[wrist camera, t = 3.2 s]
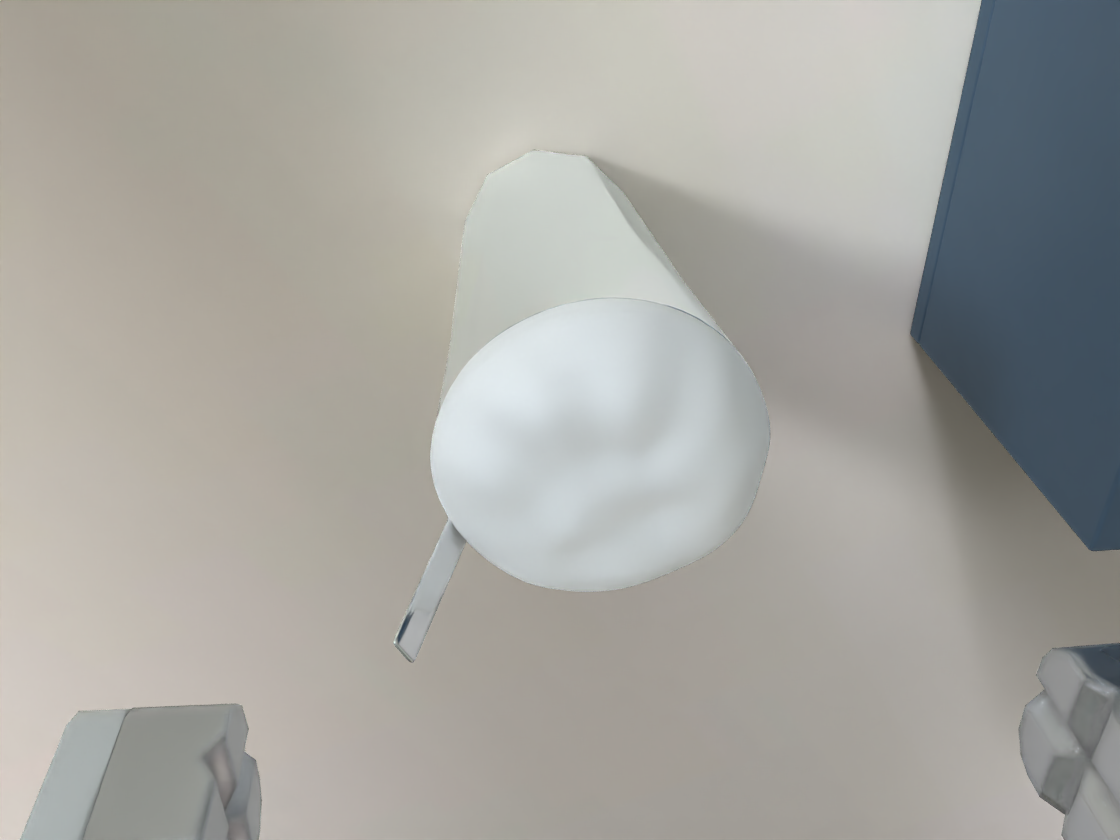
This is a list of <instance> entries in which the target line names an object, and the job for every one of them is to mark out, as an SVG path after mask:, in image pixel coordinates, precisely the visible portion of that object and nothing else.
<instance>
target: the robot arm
mask: <svg viewBox="0 0 1120 840" xmlns="http://www.w3.org/2000/svg"><path fill="white" fill-rule="evenodd" d="M1036 676H1037V677H1038V679H1039V680H1040V682H1041V684H1042V685H1043V687H1044V688H1045V689H1044V690H1043V691H1042V692H1041V693H1040V694H1039V695H1037V696H1036V697H1035V698H1034V699H1033V700H1031V701H1030V702H1029V703H1028V704H1027V705H1025V708H1024V712H1023V715H1022V719H1021V722H1020V726H1019V740H1020V752H1021V757H1022V760H1023V763H1024V766H1025V769H1026V772H1027V775H1028V777H1029V779H1030V781H1031V782H1032V784H1033V786H1034V788H1035V790H1036V791H1037V793H1038V795H1039V797H1040V798H1042V799H1043V800H1045V801H1046V802H1048V803H1049V804H1050V805H1052V806H1053V807H1055V808H1056V809H1058V810H1059V811H1061V812H1062V813H1063V814H1065V818H1064V823H1063V829H1062V837H1063V839H1064V840H1120V643H1111V644H1099V645H1086V646H1073V647H1060V648H1052V649H1051V650H1050V651H1049V652H1048V653H1047V654H1046V655H1045V656H1044V657H1043V658H1042V660H1041V663H1040V666H1039V668H1038V671H1037V674H1036ZM248 730H249V728H248V725H247V721H246V717H245V714H244V710H243V707H242V705H239V704H213V705H189V706H165V707H141V708H132V709H114V710H91V711H78V713H77V714H76V715H75V716H74V717H73V718H72V720H71V721H70V722H69V723H68V724H67V725H66V727H65V730H64V732H63V735H62V737H61V740H60V742H59V745H58V747H57V750H56V752H55V754H54V757H53V759H52V762H51V764H50V767H49V769H48V772H47V774H46V777H45V779H44V782H43V784H42V787H41V789H40V791H39V794H38V796H37V799H36V801H35V804H34V806H33V809H32V811H31V814H30V816H29V819H28V821H27V824H26V826H25V829H24V831H23V833H22V836H21V838H20V840H259V834H260V823H261V801H262V799H261V787H260V777H259V772H258V767H257V763H256V760H255V759H254V758H252V757H251V756H250V755H248V754H247V753H246V752H244V750H245V745H246V740H247V735H248Z"/></svg>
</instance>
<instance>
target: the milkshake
mask: <svg viewBox="0 0 1120 840" xmlns="http://www.w3.org/2000/svg"><path fill="white" fill-rule="evenodd" d="M769 444H770V422H769V416H768V411H767V407H766V403H765V400H764V397H763V394H762V391H761V389H760V387H759V384H758V382H757V380H756V378H755V376H754V374H753V372H752V370H751V369H750V367H749V366H748V364H747V363H746V361H745V360H744V358H743V357H742V356H741V354H740V353H739V352H738V350H737V349H736V348H735V346H734V345H733V344H732V342H731V341H730V340H729V338H728V337H727V336H726V335H725V333H724V332H723V331H722V329H721V328H720V327H719V326H718V324H717V323H716V322H715V320H714V319H713V318H712V317H711V315H710V314H709V313H708V311H707V310H706V309H705V308H704V306H703V305H702V304H701V302H700V301H699V300H698V299H697V297H696V296H695V295H694V293H693V292H692V291H691V290H690V288H689V287H688V286H687V285H686V284H685V282H684V281H683V279H682V278H681V276H680V275H679V273H678V272H677V270H676V269H675V267H674V266H673V264H672V263H671V261H670V260H669V258H668V257H667V255H666V254H665V252H664V251H663V250H662V248H661V247H660V245H659V244H658V242H657V241H656V239H655V238H654V236H653V235H652V233H651V232H650V230H649V229H648V227H647V226H646V224H645V223H644V221H643V220H642V219H641V217H640V216H639V214H638V213H637V211H636V210H635V208H634V207H633V205H632V204H631V202H630V201H629V199H628V198H627V197H626V195H625V194H624V192H623V191H622V190H621V189H620V188H619V187H618V186H617V185H616V184H615V183H614V182H612V181H611V180H610V179H609V178H608V177H607V176H606V175H605V174H604V173H603V172H602V171H601V170H600V169H599V168H598V167H597V166H596V165H595V164H594V163H593V162H592V161H591V160H590V159H589V158H588V157H587V156H583V155H575V154H566V153H558V152H550V151H542V150H535V149H534V150H532V151H530V152H528V153H526V154H524V155H523V156H521V157H519V158H517V159H515V160H513V161H511V162H510V163H508V164H506V165H504V166H502V167H500V168H498V169H497V170H495V171H493V172H491V173H489V174H487V176H486V178H485V180H484V182H483V184H482V186H481V189H480V191H479V193H478V195H477V197H476V199H475V201H474V203H473V205H472V207H471V210H470V212H469V214H468V216H467V218H466V220H465V224H464V231H463V239H462V247H461V255H460V263H459V271H458V280H457V288H456V296H455V305H454V313H453V322H452V332H451V340H450V347H449V352H448V358H447V363H446V369H445V374H444V380H443V385H442V391H441V396H440V401H439V407H438V412H437V418H436V423H435V427H434V431H433V435H432V441H431V452H430V463H431V472H432V477H433V482H434V486H435V489H436V492H437V495H438V497H439V500H440V502H441V504H442V506H443V508H444V510H445V512H446V514H447V516H448V517H449V518H448V520H447V522H446V524H445V526H444V529H443V531H442V533H441V535H440V537H439V540H438V542H437V544H436V546H435V549H434V551H433V553H432V555H431V557H430V560H429V562H428V564H427V566H426V568H425V571H424V573H423V575H422V577H421V579H420V582H419V584H418V586H417V588H416V591H415V593H414V595H413V597H412V599H411V602H410V604H409V606H408V608H407V610H406V613H405V615H404V617H403V619H402V621H401V624H400V626H399V628H398V630H397V633H396V635H395V638H394V645H395V647H396V648H397V649H398V650H399V651H400V652H401V653H402V655H403V656H404V657H405V658H406V659H407V660H408V661H409V662H411V663H413V662H414V661H415V659H416V657H417V655H418V653H419V651H420V648H421V646H422V644H423V641H424V639H425V637H426V634H427V632H428V630H429V627H430V625H431V623H432V620H433V618H434V616H435V613H436V611H437V609H438V606H439V604H440V602H441V599H442V597H443V595H444V592H445V590H446V588H447V585H448V583H449V581H450V578H451V576H452V574H453V571H454V569H455V567H456V564H457V562H458V560H459V557H460V555H461V553H462V550H463V548H464V546H465V543H466V541H467V542H468V543H469V544H470V545H471V546H472V547H473V548H474V549H475V550H476V551H477V552H478V553H479V554H480V555H482V556H483V557H484V558H485V559H487V560H488V561H489V562H491V563H492V564H493V565H495V566H496V567H498V568H499V569H501V570H503V571H504V572H506V573H508V574H509V575H511V576H513V577H515V578H517V579H520V580H522V581H524V582H527V583H530V584H533V585H536V586H540V587H545V588H550V589H558V590H566V591H579V592H598V591H610V590H618V589H623V588H628V587H632V586H635V585H638V584H642V583H645V582H648V581H651V580H654V579H656V578H659V577H661V576H663V575H666V574H668V573H671V572H673V571H675V570H678V569H680V568H682V567H685V566H687V565H689V564H691V563H693V562H695V561H697V560H699V559H701V558H703V557H704V556H706V555H708V554H709V553H711V552H712V551H714V550H715V549H717V548H718V547H719V546H720V545H722V544H723V543H724V542H725V541H726V540H727V539H729V538H730V537H731V536H732V535H733V534H734V532H735V531H736V530H737V529H738V528H739V527H740V525H741V524H742V522H743V521H744V519H745V518H746V516H747V514H748V512H749V510H750V508H751V506H752V504H753V501H754V499H755V496H756V493H757V490H758V486H759V483H760V480H761V476H762V473H763V469H764V466H765V462H766V458H767V454H768V450H769Z"/></svg>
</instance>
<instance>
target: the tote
mask: <svg viewBox="0 0 1120 840" xmlns="http://www.w3.org/2000/svg"><path fill="white" fill-rule="evenodd" d="M910 334H911V336H912V337H913V338H914V339H915V341H916V342H917V343H919V344H920V346H921V347H922V349H923V350H924V351H925V352H926V353H927V355H928V356H929V357H930V358H931V360H932V361H933V362H934V363H935V364H936V366H937V367H938V368H939V369H940V370H941V372H942V373H943V374H944V375H945V376H946V378H947V379H948V380H949V381H950V382H951V384H952V385H953V386H954V387H955V388H956V390H957V391H958V392H959V393H960V395H961V396H962V397H963V398H964V399H965V401H966V402H967V403H968V404H969V405H970V407H971V408H972V409H973V410H974V411H975V413H976V414H977V415H978V416H979V417H980V419H981V420H982V421H983V422H984V423H985V425H986V426H987V427H988V428H989V430H990V431H991V432H992V433H993V434H994V436H995V437H996V438H997V439H998V440H999V442H1000V443H1001V444H1002V445H1003V446H1004V448H1005V449H1006V450H1007V451H1008V452H1009V454H1010V455H1011V456H1012V457H1013V459H1014V460H1015V461H1016V462H1017V463H1018V465H1019V466H1020V467H1021V468H1022V469H1023V471H1024V472H1025V473H1026V474H1027V475H1028V477H1029V478H1030V479H1031V480H1032V481H1033V483H1034V484H1035V485H1036V486H1037V487H1038V489H1039V490H1040V491H1041V492H1042V494H1043V495H1044V496H1045V497H1046V498H1047V500H1048V501H1049V502H1050V503H1051V504H1052V506H1053V507H1054V508H1055V509H1056V510H1057V512H1058V513H1059V514H1060V515H1061V516H1062V518H1063V519H1064V520H1065V521H1066V522H1067V524H1068V525H1069V526H1070V527H1071V529H1072V530H1073V531H1074V532H1075V533H1076V535H1077V536H1078V537H1079V538H1080V539H1081V541H1082V542H1083V543H1084V544H1085V545H1086V547H1087V548H1088V549H1089V550H1091V551H1104V550H1120V0H982V3H981V7H980V12H979V17H978V21H977V26H976V31H975V35H974V40H973V44H972V49H971V54H970V58H969V63H968V68H967V72H966V77H965V81H964V86H963V91H962V95H961V100H960V105H959V109H958V114H957V119H956V123H955V128H954V132H953V137H952V142H951V146H950V151H949V156H948V160H947V165H946V169H945V174H944V179H943V183H942V188H941V193H940V197H939V202H938V206H937V211H936V216H935V220H934V225H933V230H932V234H931V239H930V244H929V248H928V253H927V257H926V262H925V267H924V271H923V276H922V281H921V285H920V290H919V294H918V299H917V304H916V308H915V313H914V318H913V322H912V327H911V331H910Z"/></svg>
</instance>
